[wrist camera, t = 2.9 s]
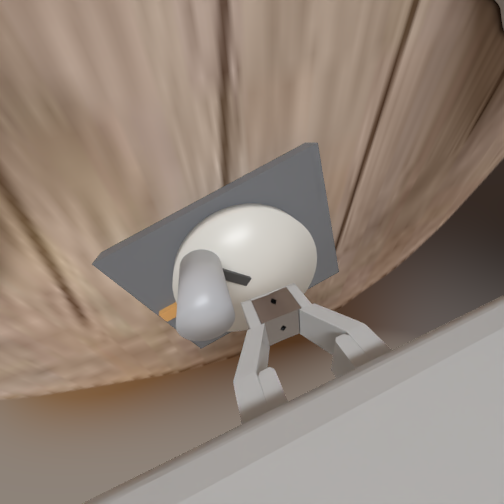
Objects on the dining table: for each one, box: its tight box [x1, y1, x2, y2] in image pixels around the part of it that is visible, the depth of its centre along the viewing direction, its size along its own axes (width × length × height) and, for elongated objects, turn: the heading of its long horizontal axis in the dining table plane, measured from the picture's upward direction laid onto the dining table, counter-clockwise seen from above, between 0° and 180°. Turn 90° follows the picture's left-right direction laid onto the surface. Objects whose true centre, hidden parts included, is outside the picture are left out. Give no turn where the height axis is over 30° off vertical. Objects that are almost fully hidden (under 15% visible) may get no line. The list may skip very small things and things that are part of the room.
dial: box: [172, 203, 317, 341], centre depth 17 cm, size 15×15×8 cm
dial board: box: [92, 143, 339, 348], centre depth 21 cm, size 22×17×3 cm
